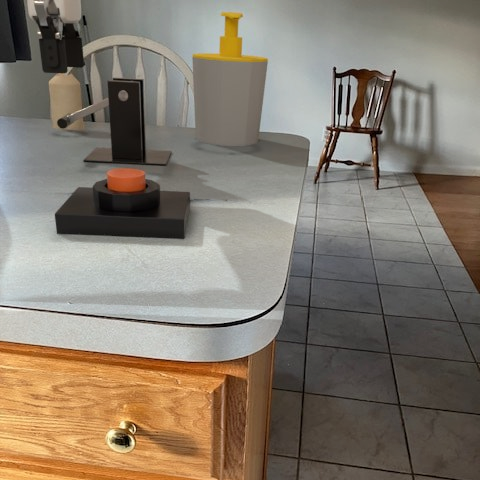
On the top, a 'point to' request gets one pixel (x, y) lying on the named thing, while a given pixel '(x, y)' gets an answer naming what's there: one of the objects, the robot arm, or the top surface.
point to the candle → (65, 99)
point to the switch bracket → (127, 127)
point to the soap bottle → (228, 91)
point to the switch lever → (81, 113)
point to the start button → (126, 179)
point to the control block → (124, 212)
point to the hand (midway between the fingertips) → (64, 69)
